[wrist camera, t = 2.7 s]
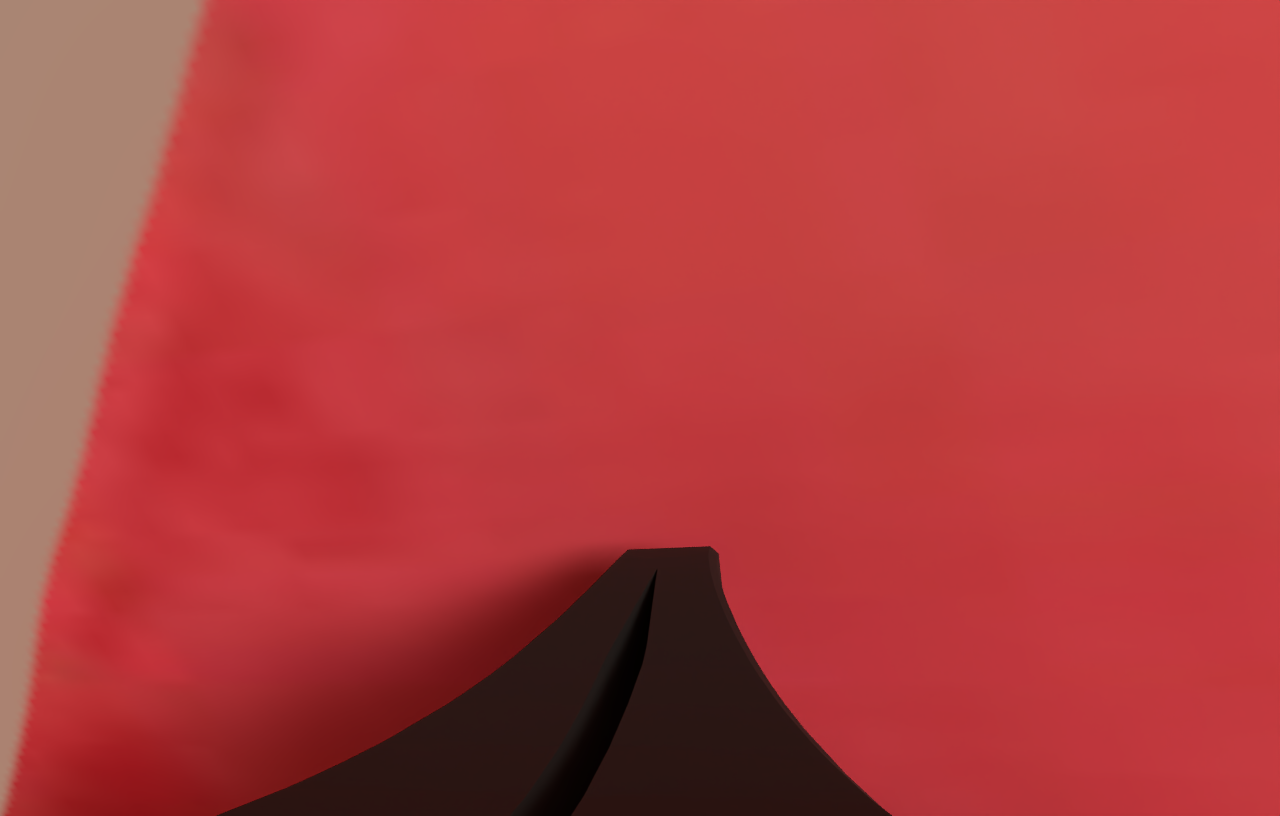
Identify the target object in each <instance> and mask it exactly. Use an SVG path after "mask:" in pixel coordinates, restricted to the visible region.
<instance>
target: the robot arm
mask: <svg viewBox="0 0 1280 816" xmlns="http://www.w3.org/2000/svg"><path fill="white" fill-rule="evenodd" d="M217 816H892V815H891V814H889V813H888V812H887V811H885V810H884V809H883V808H882V807H881V806H880V805H878V804H877V803H876V802H875V801H874V800H873V799H872V798H871V797H870V796H869V795H868V794H867V793H866V792H864V791H863V790H862V789H861V788H860V787H859V786H858V785H857V784H856V783H855V782H854V781H853V780H852V779H851V778H850V777H848V776H847V775H846V774H845V773H844V772H843V770H842V769H841V768H840V767H839V766H838V765H837V764H836V763H835V762H834V761H833V760H832V759H831V757H830V756H829V755H828V754H827V753H826V752H825V751H824V750H823V749H822V748H821V747H820V745H819V744H818V743H817V742H816V741H815V740H814V739H813V738H812V737H811V736H810V735H809V734H808V732H807V731H806V730H805V729H804V728H803V727H802V725H801V724H800V723H799V722H798V720H797V719H796V718H795V717H794V715H793V714H792V713H791V711H790V710H789V709H788V708H787V706H786V705H785V704H784V702H783V701H782V700H781V698H780V697H779V695H778V694H777V692H776V691H775V690H774V688H773V687H772V685H771V684H770V682H769V681H768V679H767V678H766V676H765V675H764V673H763V672H762V670H761V668H760V667H759V665H758V663H757V662H756V660H755V658H754V656H753V655H752V653H751V651H750V649H749V648H748V646H747V644H746V642H745V640H744V638H743V636H742V634H741V632H740V630H739V628H738V626H737V624H736V622H735V619H734V617H733V615H732V612H731V610H730V608H729V605H728V603H727V601H726V598H725V595H724V592H723V589H722V582H721V573H720V563H719V554H718V553H717V552H716V551H715V550H714V549H713V548H711V547H710V546H708V547H683V548H659V549H634V550H627V551H626V552H625V553H624V554H623V555H622V556H621V557H620V558H619V559H618V560H617V561H616V562H615V563H614V564H613V565H612V566H611V567H610V568H609V569H608V570H607V571H606V572H605V573H604V574H603V575H602V576H601V577H600V578H599V579H598V580H597V581H596V582H595V583H594V584H593V585H592V586H591V587H590V588H589V589H588V590H587V591H586V592H585V593H584V594H583V595H582V596H581V597H580V598H579V599H578V600H577V601H576V602H575V603H574V604H573V605H572V606H571V607H570V608H569V609H568V610H567V611H566V612H565V613H564V614H562V615H561V616H560V617H559V618H558V619H557V620H556V621H555V622H554V623H552V624H551V625H550V626H549V627H548V628H547V629H545V630H544V631H543V632H542V633H541V634H540V635H539V636H537V637H536V638H535V639H534V640H533V641H532V642H530V643H529V644H528V645H527V646H526V647H525V648H523V649H522V650H521V651H520V652H519V653H518V654H517V655H515V656H514V657H513V658H512V659H510V660H509V661H508V662H506V663H505V664H504V665H503V666H501V667H500V668H499V669H497V670H496V671H495V672H493V673H492V674H491V675H489V676H488V677H486V678H485V679H484V680H482V681H481V682H479V683H478V684H476V685H475V686H474V687H472V688H471V689H469V690H468V691H466V692H465V693H463V694H462V695H461V696H459V697H458V698H456V699H454V700H453V701H451V702H450V703H448V704H447V705H445V706H443V707H442V708H440V709H438V710H437V711H435V712H433V713H431V714H430V715H428V716H426V717H425V718H423V719H421V720H420V721H418V722H416V723H415V724H413V725H411V726H409V727H408V728H406V729H404V730H403V731H401V732H399V733H398V734H396V735H394V736H393V737H391V738H389V739H387V740H385V741H384V742H382V743H380V744H378V745H376V746H374V747H372V748H370V749H368V750H366V751H364V752H362V753H360V754H358V755H356V756H354V757H352V758H350V759H349V760H346V761H344V762H342V763H340V764H338V765H336V766H334V767H332V768H329V769H327V770H325V771H323V772H321V773H319V774H317V775H315V776H312V777H310V778H308V779H306V780H304V781H301V782H299V783H297V784H294V785H292V786H290V787H288V788H285V789H283V790H280V791H278V792H275V793H273V794H270V795H268V796H265V797H263V798H260V799H258V800H255V801H252V802H250V803H247V804H245V805H242V806H240V807H237V808H235V809H232V810H230V811H227V812H225V813H222V814H220V815H217Z"/></svg>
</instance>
